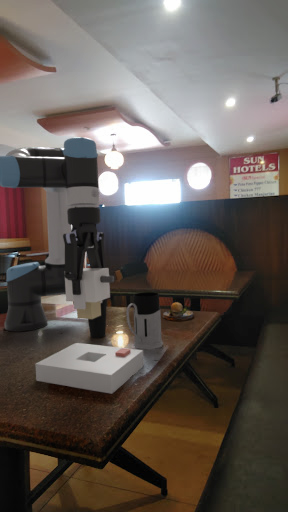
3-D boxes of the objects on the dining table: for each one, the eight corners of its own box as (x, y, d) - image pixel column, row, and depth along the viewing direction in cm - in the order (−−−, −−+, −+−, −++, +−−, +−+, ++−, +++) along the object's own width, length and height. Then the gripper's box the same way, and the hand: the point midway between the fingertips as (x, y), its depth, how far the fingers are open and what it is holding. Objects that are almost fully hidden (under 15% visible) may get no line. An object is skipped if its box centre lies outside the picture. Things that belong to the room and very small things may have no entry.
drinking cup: (105, 339, 111) (102, 276, 110) (82, 339, 112) (79, 276, 111) (112, 332, 118) (109, 273, 117) (91, 332, 120) (87, 273, 119)
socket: (36, 380, 82) (35, 360, 81) (76, 357, 96) (75, 339, 96) (112, 393, 73) (110, 371, 73) (143, 365, 88) (142, 347, 87)
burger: (199, 316, 137) (198, 297, 136) (181, 323, 128) (180, 302, 128) (174, 312, 145) (174, 294, 144) (156, 318, 136) (155, 299, 136)
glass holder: (168, 342, 106) (166, 292, 105) (142, 357, 94) (140, 301, 93) (144, 338, 110) (142, 291, 109) (116, 352, 99) (113, 299, 98)
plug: (67, 319, 82) (64, 271, 81) (83, 312, 88) (80, 268, 87) (107, 321, 78) (104, 271, 77) (121, 315, 84) (119, 268, 83)
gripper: (71, 203, 72) (78, 315, 73) (117, 208, 89) (122, 298, 91) (42, 206, 75) (49, 313, 76) (92, 210, 92) (97, 297, 94)
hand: (88, 305), depth 83 cm, fingers closed on plug, 6 cm apart
